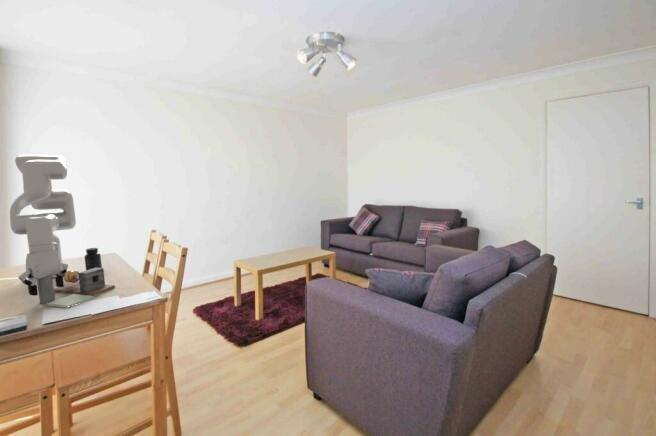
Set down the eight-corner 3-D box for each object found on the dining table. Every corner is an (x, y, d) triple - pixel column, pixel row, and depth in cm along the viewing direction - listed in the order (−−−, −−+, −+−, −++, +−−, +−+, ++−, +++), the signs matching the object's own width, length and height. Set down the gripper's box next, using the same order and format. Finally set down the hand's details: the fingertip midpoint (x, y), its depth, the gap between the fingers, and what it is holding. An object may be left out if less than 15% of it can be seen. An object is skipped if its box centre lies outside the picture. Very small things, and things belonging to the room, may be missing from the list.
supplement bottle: (105, 270, 171) (103, 247, 170) (92, 274, 165) (89, 250, 163) (96, 269, 173) (93, 246, 172) (82, 272, 167) (80, 249, 165)
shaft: (64, 283, 141) (62, 272, 140) (75, 280, 146) (74, 269, 145) (85, 285, 138) (84, 274, 138) (96, 282, 143) (95, 270, 142)
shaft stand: (52, 291, 140) (49, 271, 139) (75, 284, 149) (73, 265, 148) (93, 296, 135) (91, 274, 133) (114, 287, 144) (112, 268, 143)
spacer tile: (47, 305, 125) (47, 303, 125) (73, 296, 135) (73, 293, 134) (68, 308, 123) (67, 305, 122) (93, 298, 132) (92, 295, 132)
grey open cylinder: (45, 299, 132) (42, 274, 130) (57, 298, 132) (54, 274, 131) (36, 303, 127) (33, 278, 126) (49, 303, 127) (45, 277, 126)
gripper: (57, 243, 136) (62, 283, 138) (8, 252, 120) (14, 298, 122) (71, 244, 134) (76, 284, 137) (23, 253, 118) (30, 299, 120)
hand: (47, 290), depth 129 cm, fingers open, 9 cm apart
